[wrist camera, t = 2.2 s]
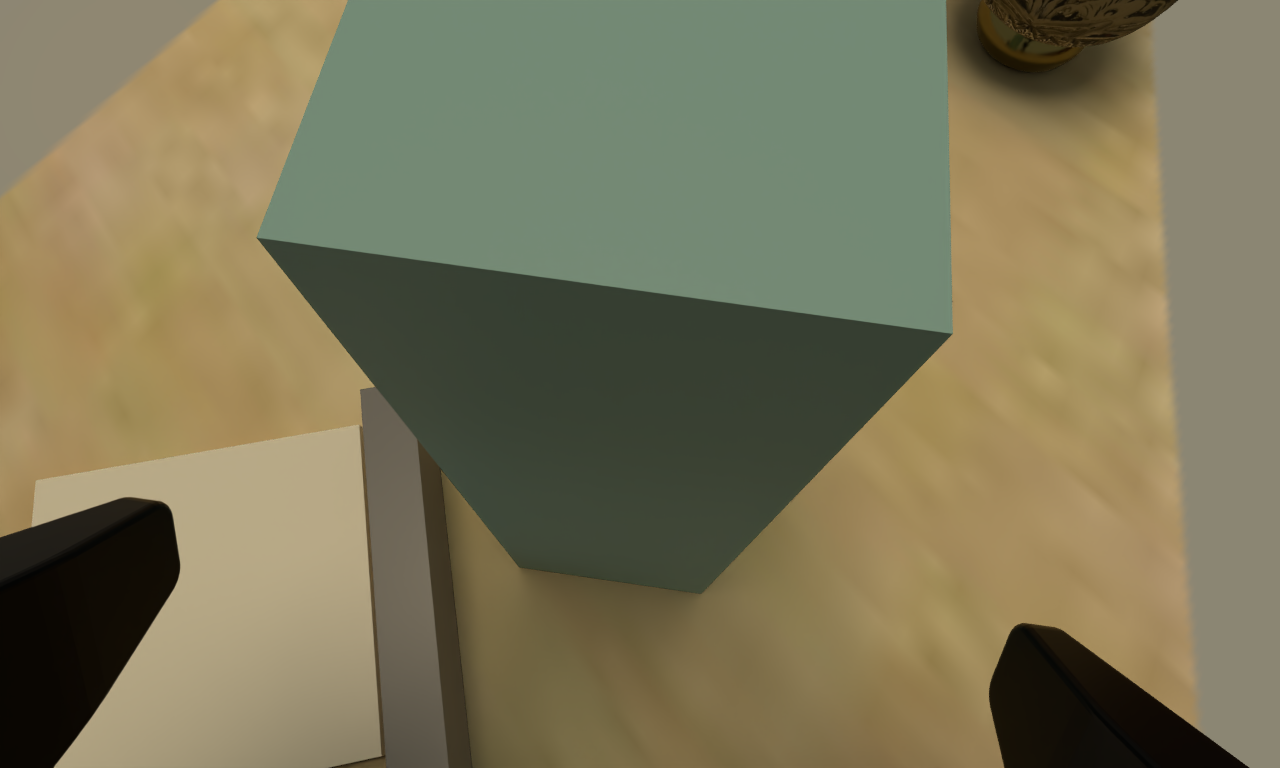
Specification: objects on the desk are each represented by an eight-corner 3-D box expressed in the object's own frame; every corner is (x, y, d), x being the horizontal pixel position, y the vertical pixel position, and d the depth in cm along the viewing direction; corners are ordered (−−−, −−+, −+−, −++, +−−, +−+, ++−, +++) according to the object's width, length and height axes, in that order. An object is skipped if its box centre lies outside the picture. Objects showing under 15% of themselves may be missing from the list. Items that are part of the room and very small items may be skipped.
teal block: (701, 593, 19) (953, 333, 5) (519, 567, 19) (256, 238, 5) (719, 414, 21) (942, -151, 7) (553, 390, 21) (431, -215, 7)
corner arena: (484, 880, 16) (462, 913, 14) (-2, 996, 15) (-112, 1052, 13) (434, 415, 20) (411, 381, 18) (44, 483, 19) (-35, 456, 17)
